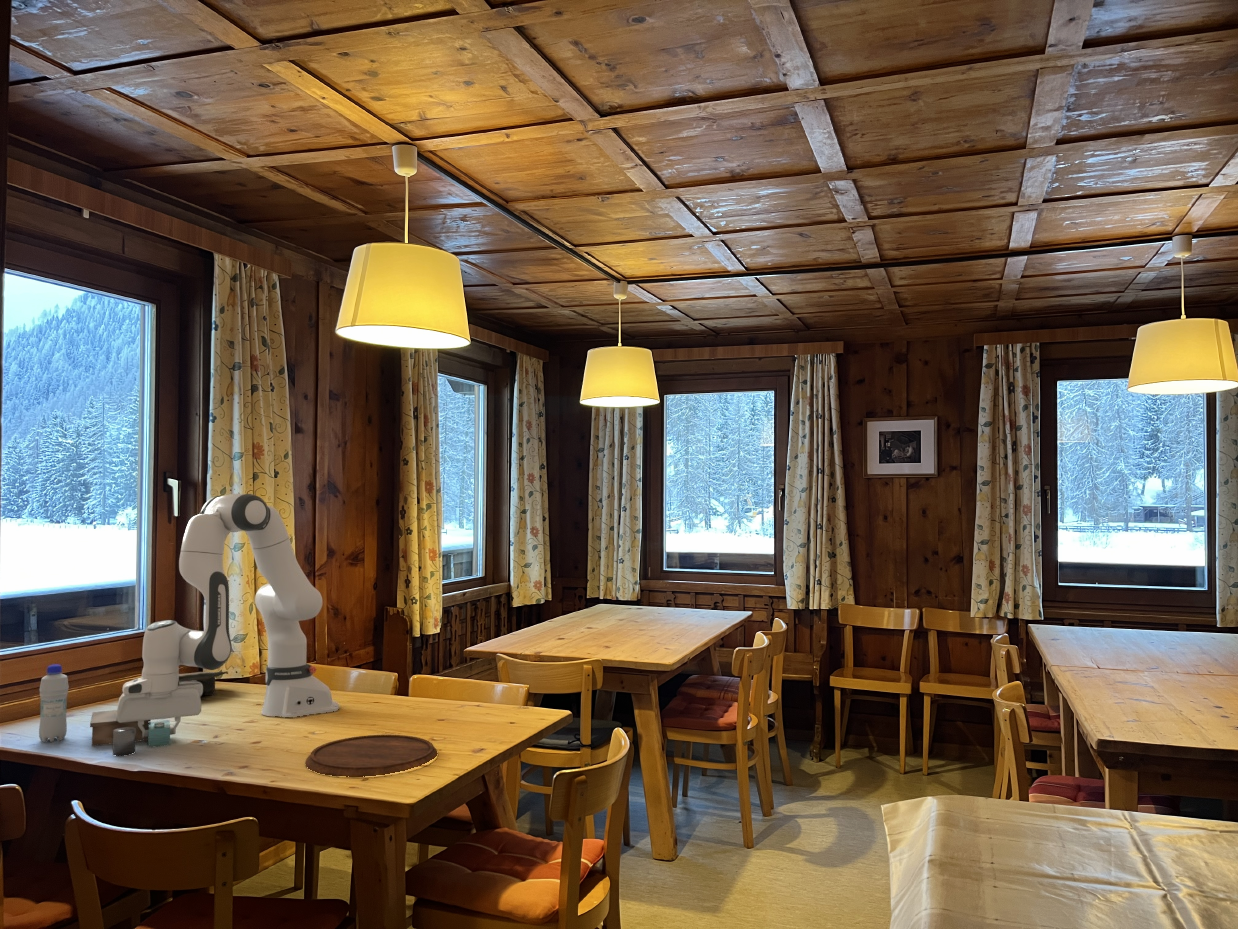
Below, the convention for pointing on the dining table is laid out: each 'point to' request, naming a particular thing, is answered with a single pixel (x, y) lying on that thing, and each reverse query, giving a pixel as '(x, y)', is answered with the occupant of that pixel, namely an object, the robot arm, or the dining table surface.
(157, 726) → the block
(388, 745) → the cutting board
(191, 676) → the stone bowl
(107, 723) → the stand
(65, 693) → the bottle
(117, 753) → the tin
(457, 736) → the dining table surface
